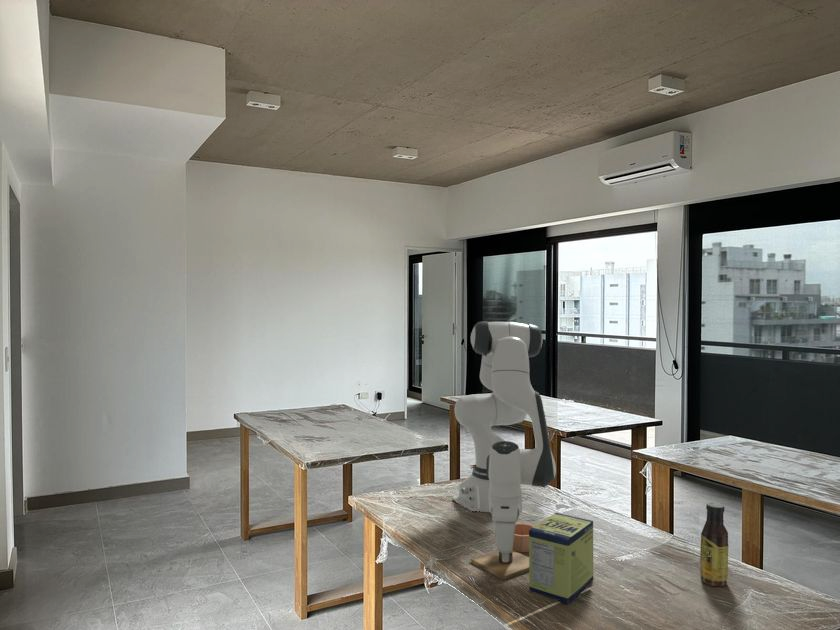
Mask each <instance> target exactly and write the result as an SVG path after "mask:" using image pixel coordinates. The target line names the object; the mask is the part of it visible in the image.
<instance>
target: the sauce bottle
mask: <svg viewBox="0 0 840 630" xmlns="http://www.w3.org/2000/svg"><path fill="white" fill-rule="evenodd" d="M705 509H706V521H705V523H704V525H703V528H702V530H701V533H700V554H699V555H700V557H699V559H700V561H699V574H700V580H701V581H702V582H703V583H704V584H706V585H708V586H710V587H711V586H712V587H725V586H726V585H727V583H728V578H729V577H728V574H729V573H728V572H729V571H728V570H729V569H728V568H729V533H728V529H727V528H726V526H725V524H724V522H725V521H724V512H725V505H724V504H722V503H720V502H718V501H717V502H715V501H710V502H709V501H708V502H707V503H706V507H705Z"/></svg>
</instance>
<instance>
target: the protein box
mask: <svg viewBox="0 0 840 630" xmlns="http://www.w3.org/2000/svg"><path fill="white" fill-rule="evenodd" d="M533 526H534V527H532V528H531V529H530V530H529V552H528V557H529V573H528V578H529V579H528V580H529V583H528V585H529V588H528V590H529V591H530V592H533V593H537V594H538V595H539V594H540V595H543V596H546V597H548V598H549V597H550V598H551V599H554V600H555V599H556V600H557V602H559V603H563V604H566V605H569V604H570V603H572V602H573V600H575V599H576V598H577V597H578V596H579V595H580V594H581V593H582V592H584V591H585V590H586V587H587V586H588V585H589V584H591V582H592V581H593V580H594V520H590V519H585V518H582V517H577V516H572V515H569V514H568V515H567V514H564V513H558V512H555V513H553V514H552V515H550V516H549V517H547V518H546V519H545V518H544V520H542V521H541V522H540V521H539V523H537V524H536V525H533Z"/></svg>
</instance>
